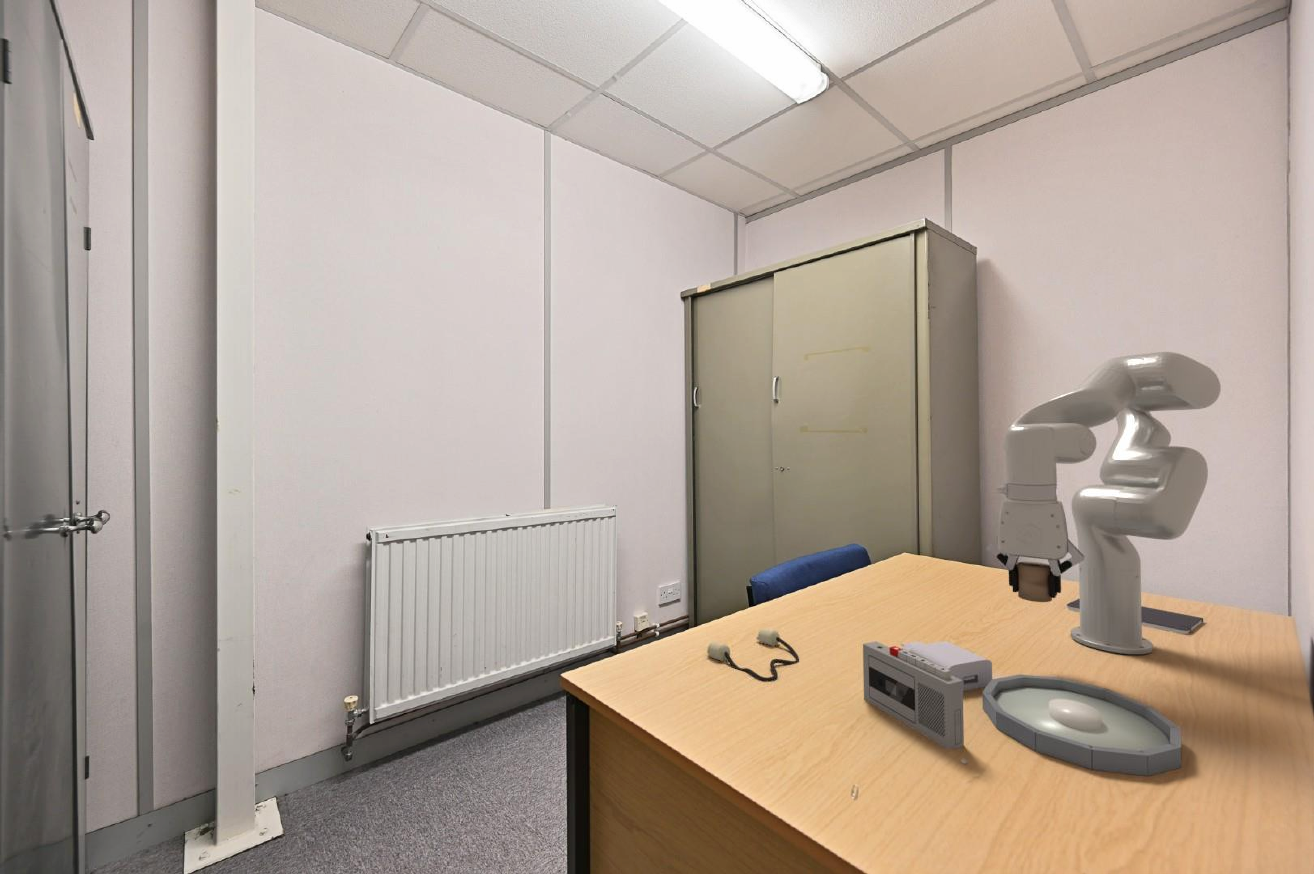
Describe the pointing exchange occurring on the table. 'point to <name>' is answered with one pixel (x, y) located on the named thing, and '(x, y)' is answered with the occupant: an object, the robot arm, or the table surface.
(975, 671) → the charger
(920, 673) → the cassette player
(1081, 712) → the tray
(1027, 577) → the bead
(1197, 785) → the table surface
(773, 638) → the cable
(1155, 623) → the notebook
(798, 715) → the table surface
